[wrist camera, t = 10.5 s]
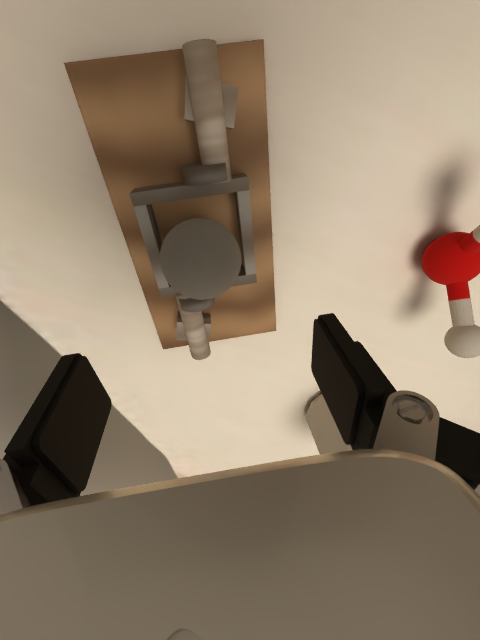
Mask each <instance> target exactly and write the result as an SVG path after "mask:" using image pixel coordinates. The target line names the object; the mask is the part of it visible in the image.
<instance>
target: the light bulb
mask: <svg viewBox="0 0 480 640" xmlns="http://www.w3.org/2000/svg"><path fill="white" fill-rule="evenodd" d="M160 265H161V269H162V272H163V274H164V276H165V279H166V280H167V281H168V283H169V284H170V285H171V287H173V288H174V289H175V290H176V291H177V292H179V293H180V294H182V295H184V296H186V297H189V298H192V299H199V300H205V299H211V298H215V297H217V296H219V295H221V294H223V293H224V292H226V291H227V290H228V289H229V288H230V287H231V286H232V285H233V284H234V282H235V280H236V279H237V277H238V274H239V272H240V268H241V252H240V249H239V245H238V243H237V241H236V239H235V237H234V236H233V235H232V234H231V232H230V231H229V230H228V229H227V228H226V227H224V226H223V225H222V224H220V223H218V222H216V221H213V220H210V219H206V218H193V219H189V220H186V221H183V222H181V223H179V224H178V225H176V226H175V227H174V228H173V229H172V230H171V231H170V232H169V233H168V234H167V236H166V237H165V239H164V241H163V244H162V246H161V251H160Z"/></svg>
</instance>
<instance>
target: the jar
mask: <svg viewBox="0 0 480 640" xmlns="http://www.w3.org/2000/svg"><path fill="white" fill-rule="evenodd" d="M305 416H306V419H307V422H308V424H309V427H310V430H311V432H312V435H313V438H314V440H315V443H316V445H317V448H318V451H319V453H320V455H321V454H328V453H334V452H341V451H351V450H352V448H351V446H350V445H346V444H345V443H344V441H343V439H342V437H341V434H340V432H339V430H338V428H337V426H336V423H335V421H334V419H333V417H332V415H331V413H330V410H329V408H328V406H327V404H326V402H325V399H324V397H323V395H322V393H321V394H320V395H319V396H317V397H316V398H315V399H313V400H312V402H311V404H310V406H309V408H308V411H307V413H306V415H305Z"/></svg>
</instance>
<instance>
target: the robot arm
mask: <svg viewBox="0 0 480 640" xmlns="http://www.w3.org/2000/svg"><path fill="white" fill-rule="evenodd" d="M311 368H312V373H313V375H314V378H315V380H316V382H317V384H318V386H319V389H320V391H321V393H322V395H323V397H324V399H325V402H326V404H327V406H328V408H329V410H330V413H331V415H332V417H333V419H334V421H335V423H336V426H337V428H338V430H339V432H340V434H341V437H342V439H343V441H344V443H345V444H346V445H350V446H351V448H352V450H351V451H341V452H334V453H328V454H321V455H315V456H308V457H301V458H295V459H289V460H283V461H278V462H272V463H266V464H260V465H254V466H248V467H242V468H236V469H230V470H225V471H219V472H213V473H208V474H202V475H196V476H190V477H185V478H179V479H173V480H168V481H162V482H156V483H151V484H146V485H140V486H134V487H129V488H123V489H117V490H112V491H107V492H101V493H95V494H90V495H84V496H80V493H81V491H83V490H84V489H85V488H86V485H87V482H88V479H89V476H90V473H91V469H92V466H93V463H94V460H95V457H96V454H97V451H98V448H99V444H100V441H101V438H102V435H103V432H104V429H105V425H106V422H107V419H108V416H109V413H110V409H111V399H110V397H109V395H108V394H107V392H106V390H105V389H104V387H103V385H102V383H101V382H100V380H99V378H98V376H97V375H96V373H95V371H94V369H93V368H92V366H91V364H90V362H89V361H88V359H87V358H86V357H85V356H82V355H81V354H79V353H77V354H70V355H64V356H62V357H61V358H60V360H59V362H58V364H57V365H56V367H55V369H54V370H53V372H52V373H51V375H50V377H49V378H48V380H47V382H46V383H45V385H44V387H43V388H42V390H41V391H40V393H39V395H38V397H37V398H36V400H35V401H34V403H33V405H32V406H31V408H30V410H29V411H28V413H27V415H26V416H25V418H24V420H23V421H22V423H21V425H20V426H19V428H18V430H17V431H16V433H15V434H14V436H13V438H12V439H11V441H10V443H9V444H8V446H7V448H6V449H5V453H6V455H5V456H4V458H3V460H2V459H0V640H480V433H477V432H475V431H473V430H470V429H468V428H465V427H463V426H460V425H458V424H455V423H453V422H451V421H448V420H446V419H443V418H441V417H439V412H438V410H437V408H436V406H435V405H434V404H433V403H432V402H431V401H430V400H429V399H427V398H426V397H424V396H422V395H420V394H418V393H415V392H411V391H396V389H395V388H394V387H393V385H392V384H391V383H390V381H389V380H388V379H387V377H386V376H385V375H384V373H383V372H382V371H381V369H380V368H379V367H378V365H377V364H376V363H375V361H374V360H373V359H372V357H371V356H370V355H369V353H368V352H367V351H366V349H365V348H364V347H363V345H362V344H361V343H360V342H358V341H356V342H354V341H353V340H352V338H351V337H350V335H349V334H348V333H347V331H346V330H345V328H344V327H343V326H342V324H341V323H340V322H339V320H338V319H337V317H336V316H335V315H334V314H333V313H331V314H324V315H319V316H318V319H315V320H314V328H313V345H312V363H311Z"/></svg>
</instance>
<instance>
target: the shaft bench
mask: <svg viewBox="0 0 480 640" xmlns="http://www.w3.org/2000/svg"><path fill="white" fill-rule="evenodd" d="M182 48H183V49H178V50H169V51H161V52H152V53H144V54H136V55H127V56H119V57H110V58H102V59H93V60H85V61H77V62H68V63H64V64H65V67H66V70H67V73H68V76H69V79H70V82H71V85H72V87H73V90H74V93H75V96H76V99H77V102H78V105H79V108H80V111H81V113H82V116H83V119H84V122H85V125H86V128H87V131H88V134H89V136H90V139H91V142H92V145H93V148H94V151H95V154H96V157H97V160H98V162H99V165H100V168H101V171H102V174H103V177H104V180H105V183H106V185H107V188H108V191H109V194H110V197H111V200H112V203H113V206H114V209H115V211H116V214H117V217H118V220H119V223H120V226H121V229H122V232H123V235H124V237H125V240H126V243H127V246H128V249H129V252H130V255H131V258H132V260H133V263H134V266H135V269H136V272H137V275H138V278H139V281H140V284H141V286H142V289H143V292H144V295H145V298H146V301H147V304H148V307H149V309H150V312H151V315H152V318H153V321H154V324H155V327H156V330H157V333H158V335H159V338H160V341H161V344H162V347H163V349H168V348H174V347H180V346H186V345H189V348H190V351H191V355H192V357H193V358H194V359H196V360H202V359H205V358H207V357H208V356H209V355H210V353H211V351H210V346H209V342H210V341H216V340H222V339H228V338H234V337H240V336H246V335H253V334H259V333H265V332H271V331H276V315H275V292H274V269H273V246H272V224H271V201H270V178H269V155H268V132H267V110H266V87H265V64H264V41H263V39H262V40H253V41H245V42H237V43H228V44H220V45H216V41H215V40H210V39H203V40H195V41H190V42H187V43H185V44H183V46H182ZM193 218H206V219H210V220H213V221H216V222H218V223H220V224H222V225H223V226H224V227H226V228H227V229H228V230H229V231H230V232H231V234H232V235H233V236H234V237H235V239H236V241H237V243H238V245H239V249H240V252H241V268H240V272H239V274H238V277H237V279H236V280H235V282H234V284H233V285H232V286H231V287H230V288H229V289H228V290H227V291H226V292H224V293H223V294H221V295H219V296H217V297H215V298H211V299H205V300H199V299H192V298H189V297H186V296H184V295H182V294H180V293H179V292H177V291H176V290H175V289H174V288H173V287H171V285H170V284H169V283H168V281H167V280H166V279H165V276H164V274H163V272H162V269H161V265H160V251H161V246H162V244H163V241H164V239H165V237H166V236H167V234H168V233H169V232H170V231H171V230H172V229H173V228H174V227H175V226H176V225H178V224H179V223H181V222H183V221H186V220H189V219H193Z"/></svg>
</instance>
